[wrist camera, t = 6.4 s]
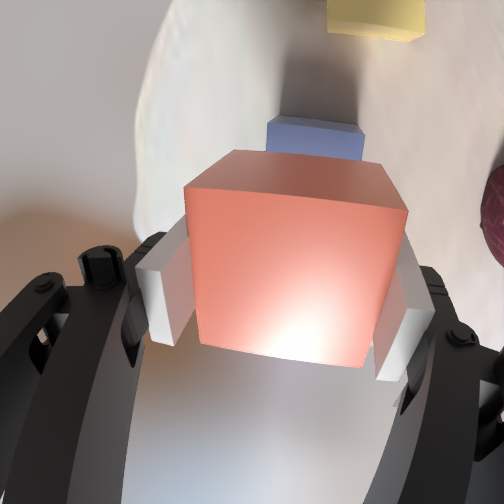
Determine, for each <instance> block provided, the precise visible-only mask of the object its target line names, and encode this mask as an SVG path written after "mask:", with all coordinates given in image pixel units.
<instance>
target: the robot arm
mask: <svg viewBox="0 0 504 504" xmlns="http://www.w3.org/2000/svg"><path fill="white" fill-rule="evenodd" d="M78 261H79V265H80V269H81V272H82V275H83V279H84V282H85V284H84V285H83V286H66V285H65V282H64V279H63V277H62V275H61V274H59V273H56V272H48V273H44V274H41V275H39V276H37V277H36V278H34V279H33V280H32V281H31V282H29V283H28V284H27V285H26V286H25V287H24V288H23V289H22V290H21V291H20V293H19V294H18V295H17V296H16V297H15V298H14V299H13V300H12V301H11V302H10V303H9V304H8V305H7V306H6V307H5V308H4V309H3V310H2V311H1V312H0V499H1V497H2V495H3V492H4V490H5V493H4V497H3V502H2V504H121V496H122V487H123V478H124V469H125V461H126V453H127V446H128V439H129V431H130V425H131V419H132V412H133V407H134V401H135V395H136V390H137V384H138V379H139V373H140V368H141V363H142V358H143V354H144V348H145V347H144V340H143V335H144V334H145V332H146V330H147V329H148V328H149V331H150V334H151V338H152V341H156V342H160V343H164V344H168V345H171V346H174V345H175V343H176V342H177V340H178V338H179V336H180V334H181V333H182V331H183V329H184V327H185V325H186V324H187V322H188V320H189V318H190V316H191V315H192V313H193V311H194V309H195V307H196V305H195V295H194V285H193V275H192V264H191V252H190V239H189V236H188V234H187V223H186V214H185V215H184V216H183V217H182V218H181V219H180V220H179V221H178V222H177V223H176V224H175V225H174V226H173V227H172V228H171V229H170V230H169V231H168V232H158V233H156V234H154V235H152V236H150V237H148V238H147V239H146V240H145V241H144V242H143V243H142V244H141V246H140V247H138V248H137V249H136V250H135V251H134V253H132V254H131V255H130V256H129V257H128V258H127V259H126V260H125V261H123V256H122V252H121V250H120V249H119V248H117V247H115V246H109V245H103V246H97V247H94V248H91V249H88V250H87V251H85V252H83V253H82V254H81V255H80V256H79V257H78ZM41 329H43V331H44V333H45V335H46V337H47V340H46V341H45V342H44V343H41V342H40V340H39V338H38V336H37V334H38V333H39V331H40V330H41ZM373 343H374V357H375V375H376V380H385V381H400V380H401V378H402V376H403V375H404V373H405V371H406V369H407V375H408V382H407V384H406V386H405V387H404V389H403V391H402V393H401V394H400V395H399V397H398V399H397V400H396V402H395V404H394V407H397V405H398V404H399V405H398V409H397V412H396V415H395V419H394V422H393V425H392V429H391V432H390V435H389V438H388V441H387V444H386V446H385V450H384V452H383V455H382V458H381V460H380V463H379V466H378V469H377V471H376V474H375V476H374V478H373V481H372V484H371V486H370V488H369V491H368V493H367V495H366V497H365V500H364V502H363V504H504V422H503V421H502V419H501V413H502V412H503V411H504V347H503V348H502V350H501V351H500V352H498V351H495V350H492V349H489V348H486V347H484V346H481V345H480V343H479V339H478V336H477V335H476V333H475V332H474V330H473V329H471V328H470V327H469V326H468V325H466V324H464V323H462V322H460V321H459V319H458V317H457V314H456V312H455V309H454V307H453V304H452V302H451V299H450V297H449V296H448V292H447V289H446V288H445V285H444V282H443V280H442V278H441V276H440V275H439V274H438V273H437V272H436V271H435V270H434V269H433V268H432V267H427V266H420V265H419V264H418V262H417V259H416V257H415V254H414V252H413V249H412V247H411V244H410V242H409V240H408V237H407V235H406V233H405V230H404V234H403V238H402V242H401V246H400V250H399V254H398V258H397V262H396V265H395V269H394V273H393V276H392V280H391V283H390V286H389V289H388V292H387V295H386V299H385V302H384V305H383V308H382V310H381V313H380V316H379V319H378V322H377V325H376V328H375V330H374V333H373Z"/></svg>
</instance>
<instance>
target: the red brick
mask: <svg viewBox="0 0 504 504" xmlns="http://www.w3.org/2000/svg"><path fill="white" fill-rule="evenodd" d="M184 199H185V212H186V223H187V234H188V236H189V239H190V252H191V264H192V275H193V285H194V295H195V305H196V314H197V322H198V329H199V336H200V343H202V344H207V345H212V346H216V347H222V348H226V349H232V350H237V351H242V352H248V353H254V354H260V355H266V356H272V357H278V358H285V359H291V360H299V361H306V362H314V363H321V364H330V365H339V366H348V367H358V368H361V367H362V366H363V363H364V360H365V358H366V355H367V353H368V350H369V347H370V344H371V342H372V339H373V333H374V330H375V328H376V325H377V322H378V319H379V316H380V313H381V310H382V308H383V305H384V302H385V299H386V295H387V292H388V289H389V286H390V283H391V280H392V276H393V273H394V269H395V265H396V262H397V258H398V254H399V250H400V246H401V242H402V238H403V234H404V230H405V225H406V221H407V216H408V212H409V211H408V209H407V207H406V205H405V204H404V202H403V200H402V198H401V197H400V195H399V193H398V191H397V190H396V188H395V186H394V185H393V183H392V181H391V180H390V178H389V177H388V175H387V173H386V172H385V170H384V168H383V167H382V165H381V164H377V163H371V162H364V161H356V160H349V159H341V158H332V157H324V156H314V155H304V154H293V153H281V152H267V151H250V150H233V151H231V152H230V153H229V154H227V155H226V156H224V157H223V158H222V159H220V160H219V161H218V162H216V163H215V164H214V165H212V166H211V167H209V168H208V169H207V170H205V171H204V172H203V173H201V174H200V175H199V176H197V177H196V178H195V179H194V180H192V181H191V182H190V183H188V184H187V185H186V186H184Z"/></svg>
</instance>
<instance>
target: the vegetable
mask: <svg viewBox="0 0 504 504" xmlns="http://www.w3.org/2000/svg"><path fill="white" fill-rule="evenodd" d="M480 228H482V230H483V234H484V237H485V240H486V243H487V245H488V247H489V249H490V251H491V253H492V254H493V256H494V257H495V259H496V260H497V261H498V262H499V263H500V264H501V265H502V266H503V267H504V164H503V165H502V166H500V167H499V168H497V169H496V170H495V171H494V172H493V173H492V175H491V176H490V177H489V179H488V181H487V185H486V188H485V192H484V196H483V200H482V204H481V224H480Z"/></svg>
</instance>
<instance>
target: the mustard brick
mask: <svg viewBox="0 0 504 504" xmlns="http://www.w3.org/2000/svg"><path fill="white" fill-rule="evenodd" d="M327 28H328V33H340V34H351V35H360V36H368V37H376V38H383V39H389V40H395V41H401V42H406V43H408V42H410V41H412V40H414V39H416V38H418V37H420V36H422V35H425V34H426V27H425V7H424V0H327Z"/></svg>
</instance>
